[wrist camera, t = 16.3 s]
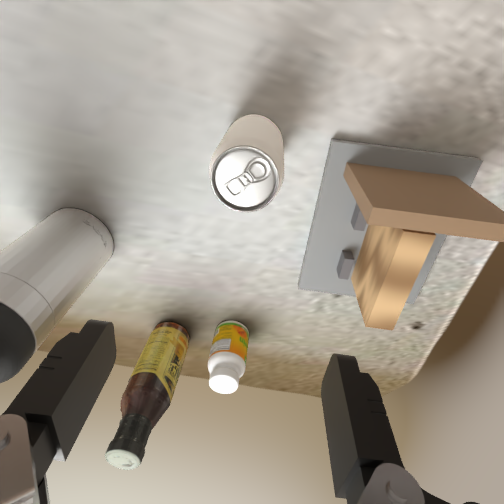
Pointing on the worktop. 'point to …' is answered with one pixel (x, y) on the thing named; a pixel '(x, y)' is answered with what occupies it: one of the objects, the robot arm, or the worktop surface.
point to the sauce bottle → (148, 393)
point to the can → (248, 164)
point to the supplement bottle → (228, 356)
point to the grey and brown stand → (390, 208)
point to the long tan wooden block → (388, 272)
